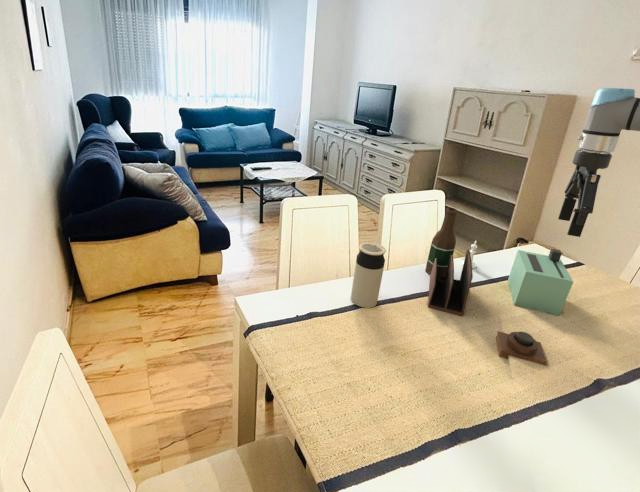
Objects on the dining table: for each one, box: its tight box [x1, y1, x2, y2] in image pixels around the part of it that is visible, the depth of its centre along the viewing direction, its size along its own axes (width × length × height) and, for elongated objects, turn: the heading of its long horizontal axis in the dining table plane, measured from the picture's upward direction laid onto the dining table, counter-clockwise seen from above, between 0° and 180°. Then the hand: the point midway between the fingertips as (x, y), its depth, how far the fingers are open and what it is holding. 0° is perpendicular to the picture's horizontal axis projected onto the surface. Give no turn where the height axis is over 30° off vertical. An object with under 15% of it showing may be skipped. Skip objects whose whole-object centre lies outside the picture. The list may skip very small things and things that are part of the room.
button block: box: [495, 330, 548, 366], centre depth 98 cm, size 10×8×4 cm
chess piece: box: [461, 240, 478, 269], centre depth 139 cm, size 5×5×10 cm
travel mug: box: [350, 242, 387, 309], centre depth 113 cm, size 8×8×18 cm
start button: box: [515, 331, 534, 346], centre depth 97 cm, size 4×4×2 cm
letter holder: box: [427, 249, 474, 317], centre depth 119 cm, size 10×20×14 cm, turn 158°
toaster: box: [507, 249, 574, 317], centre depth 121 cm, size 12×16×12 cm
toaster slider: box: [547, 248, 563, 262], centre depth 121 cm, size 2×2×3 cm
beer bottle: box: [425, 207, 458, 277], centre depth 130 cm, size 8×8×24 cm
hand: (568, 227), depth 107 cm, fingers open, 13 cm apart
